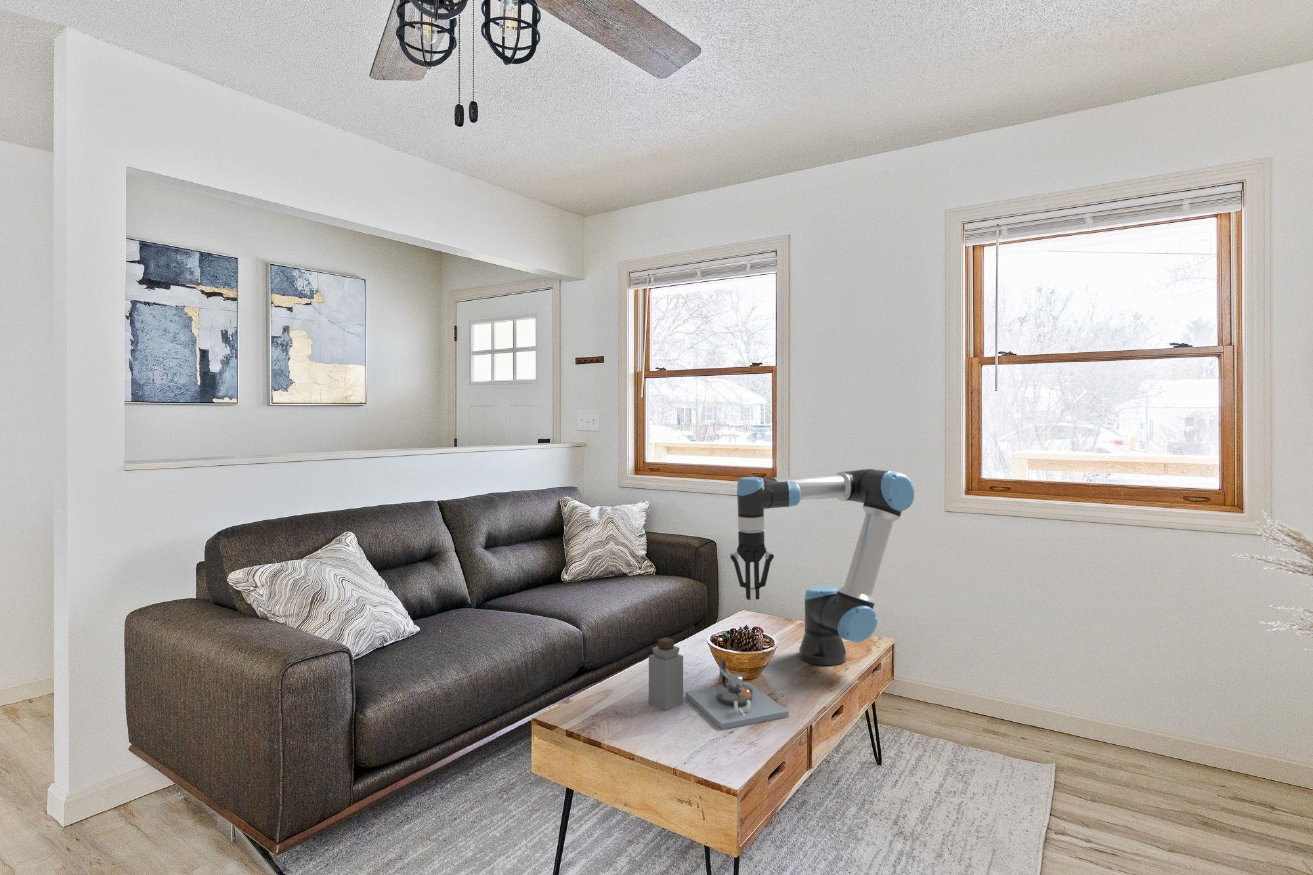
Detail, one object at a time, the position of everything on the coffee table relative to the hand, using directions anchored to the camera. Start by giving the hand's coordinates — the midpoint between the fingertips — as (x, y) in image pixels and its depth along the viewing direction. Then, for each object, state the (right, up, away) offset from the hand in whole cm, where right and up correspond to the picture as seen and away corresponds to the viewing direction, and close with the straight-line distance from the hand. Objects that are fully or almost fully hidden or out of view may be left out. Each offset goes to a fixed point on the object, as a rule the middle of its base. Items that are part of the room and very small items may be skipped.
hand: (752, 610), depth 206 cm
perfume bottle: (-26, -24, -10) cm, 36 cm away
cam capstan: (-7, -21, -11) cm, 25 cm away
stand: (-6, -24, -12) cm, 27 cm away
